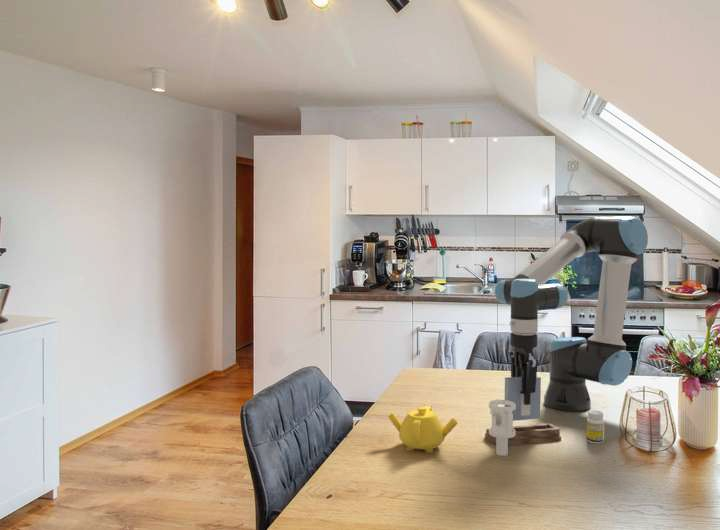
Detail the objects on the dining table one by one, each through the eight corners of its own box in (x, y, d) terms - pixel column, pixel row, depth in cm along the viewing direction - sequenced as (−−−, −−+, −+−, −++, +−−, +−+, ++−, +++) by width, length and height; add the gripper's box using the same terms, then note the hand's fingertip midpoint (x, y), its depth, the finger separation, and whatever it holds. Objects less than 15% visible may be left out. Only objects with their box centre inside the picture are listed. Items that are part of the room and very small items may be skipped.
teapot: (463, 440, 178) (463, 402, 178) (451, 463, 162) (451, 421, 161) (396, 432, 185) (396, 396, 184) (378, 454, 168) (378, 414, 167)
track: (546, 430, 185) (547, 421, 185) (561, 440, 177) (561, 429, 177) (484, 436, 181) (484, 426, 181) (496, 446, 173) (496, 435, 173)
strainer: (483, 451, 169) (483, 397, 168) (504, 447, 172) (505, 394, 171) (498, 460, 163) (499, 404, 162) (520, 456, 166) (521, 401, 165)
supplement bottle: (591, 437, 180) (591, 408, 179) (607, 441, 176) (607, 412, 176) (583, 441, 176) (584, 412, 176) (599, 445, 173) (600, 416, 172)
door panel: (535, 415, 181) (535, 375, 181) (540, 418, 178) (540, 377, 178) (503, 417, 179) (503, 377, 178) (508, 421, 176) (508, 379, 175)
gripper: (499, 328, 184) (498, 406, 185) (524, 338, 169) (523, 422, 170) (522, 327, 185) (521, 404, 187) (549, 337, 170) (548, 420, 172)
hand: (522, 413), depth 179 cm, fingers closed on door panel, 2 cm apart
